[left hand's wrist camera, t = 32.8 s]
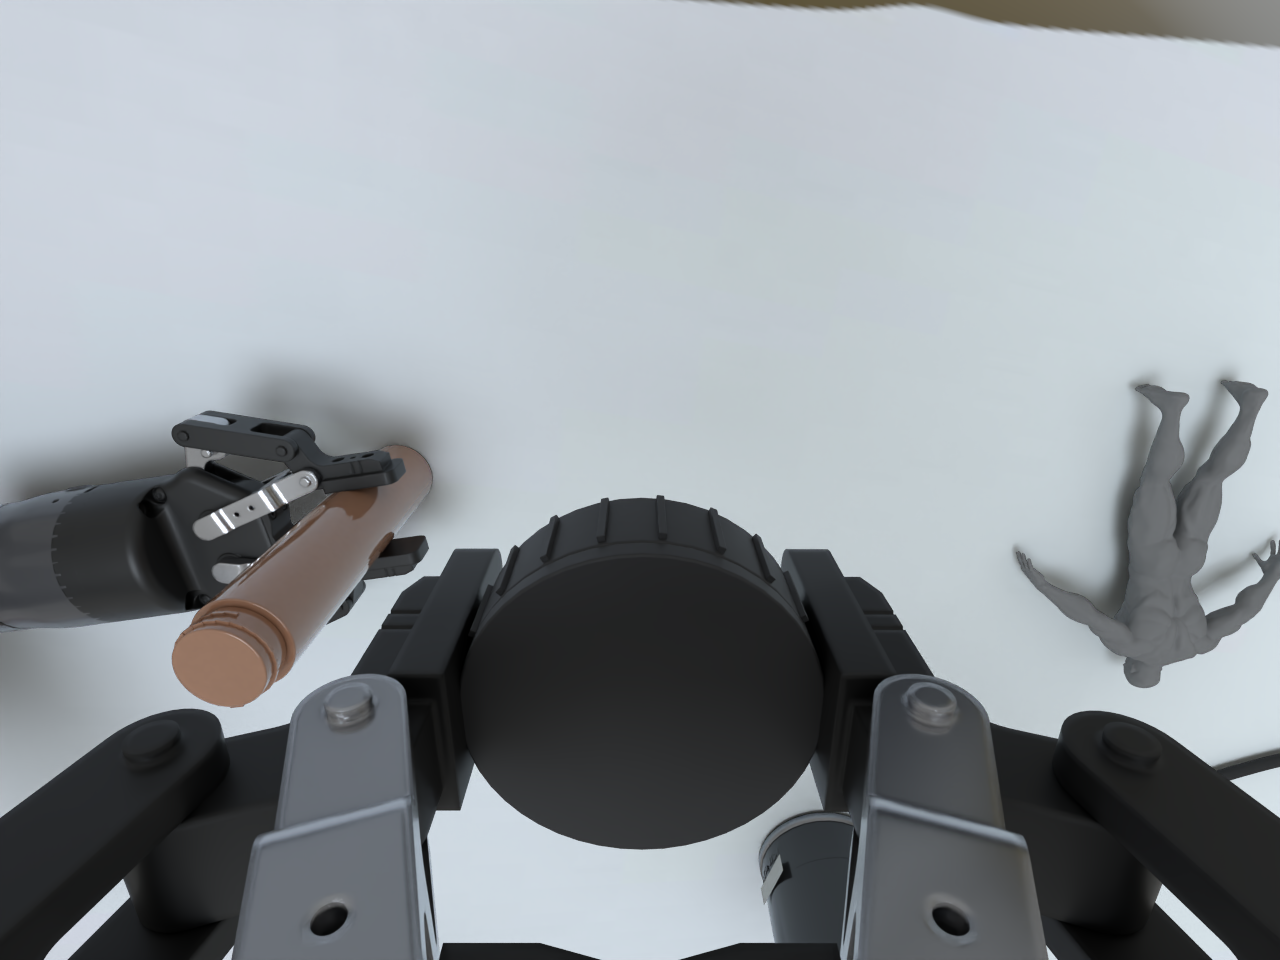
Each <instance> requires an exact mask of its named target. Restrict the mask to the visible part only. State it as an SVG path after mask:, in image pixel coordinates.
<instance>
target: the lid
mask: <svg viewBox="0 0 1280 960" xmlns="http://www.w3.org/2000/svg"><path fill="white" fill-rule="evenodd" d="M807 621H809V619H808V617H807V614H806V612H805V609H804V607H803V604H802V602H801V599H800V597H799V594H798V592H797V589H796V587H795V584H794V582H793V579H792V577H791V575H790V573H789V571H788V570H787V571H785V572H783V571H782V569H781V568H780V566H779V565H778V564H777V562H776V561H775V559H774V558H773V556H772V555H771V554H770V553H769V552H768V551H767V550H766V549H765V548H764V545H763V542H762V540H761V537H759V536H758V535H757V534H755V535H754V536H753V537H752V536H751V535H750V534H749V533H748V532H746V531H745V530H744V529H742V528H741V527H739V526H737V525H736V524H734V523H733V522H731V521H729V520H728V519H726V518H724V517H722V516H720V515H718V512H717V510H716V509H713V508H710V510H706V509H703V508H700V507H696V506H693V505H690V504H687V503H682V502H676V501H671V500H665V499H664V496H660V495H657V498H656V499H652V498H632V499H618V500H613V501H609V499H608V498H603V499H601V503H597V504H594V505H591V506H587V507H584V508H581V509H578V510H575V511H573V512H571V513H569V514H566V515H564V516H562V517H560V518H558V516H557V515H555V516H553V517H551V518H550V522H549V524H548V525H546V526H545V527H543V528H541V529H540V530H538V531H537V532H536V533H535V534H534V535H532V536H531V537H530V538H529V539H528V540H526V541H525V542H524V543H523V544H522V545H521V546H520V547H519V548H518V547H517V546H516V545H515V546H514V547H513V548H512V549H511V551H510V554H509V556H508V559H507V562H506V564H505V566H504V567H503V569H502V570H501V572H500V573H499V575H498V577H497V579H496V581H495V584H494V586H492V585H489V584H488V586H487V588H486V591H485V593H484V596H483V598H482V601H481V603H480V606H479V609H478V611H477V614H476V616H475V619H474V621H473V624H472V626H471V629H470V631H469V634H468V636H470V637H473V640H472V643H471V645H470V648H469V651H468V653H467V656H466V659H465V662H464V666H463V669H462V672H461V676H460V696H461V704H462V712H463V721H464V729H465V737H466V744H467V748H468V751H469V753H470V755H471V757H472V759H473V761H474V763H475V764H476V766H477V768H478V770H479V771H480V773H481V774H482V775H483V777H484V778H485V779H486V781H487V782H488V783H489V785H490V786H491V787H492V788H493V789H494V790H495V791H496V792H497V793H498V794H499V795H500V796H501V797H502V798H503V799H504V800H505V801H506V802H507V803H509V804H510V805H511V806H512V807H514V808H515V809H516V810H517V811H519V812H520V813H521V814H523V815H525V816H526V817H528V818H529V819H531V820H533V821H534V822H536V823H537V824H539V825H541V826H543V827H546V828H548V829H550V830H552V831H554V832H556V833H558V834H561V835H564V836H567V837H570V838H573V839H575V840H578V841H582V842H587V843H591V844H595V845H599V846H606V847H613V848H620V849H641V850H643V849H663V848H670V847H677V846H684V845H689V844H693V843H697V842H701V841H705V840H708V839H711V838H714V837H717V836H719V835H722V834H725V833H727V832H729V831H732V830H734V829H736V828H738V827H740V826H742V825H744V824H746V823H748V822H749V821H751V820H752V819H754V818H756V817H757V816H759V815H761V814H762V813H764V812H765V811H766V810H767V809H769V808H770V807H771V806H772V805H774V804H775V803H776V802H777V801H779V800H780V799H781V798H782V797H783V796H784V795H785V794H786V793H787V792H788V791H789V790H790V789H791V788H792V787H793V785H794V784H795V783H796V781H797V780H798V779H799V777H800V776H801V775H802V774H803V772H804V771H805V769H806V767H807V766H808V764H809V762H810V760H811V758H812V757H813V755H814V753H815V750H816V748H817V743H818V737H819V729H820V721H821V713H822V704H823V696H824V675H823V672H822V668H821V665H820V661H819V658H818V655H817V653H816V650H815V648H814V645H813V643H812V640H811V637H810V635H809V632H808V630H807V627H806V625H805V622H807Z"/></svg>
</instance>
